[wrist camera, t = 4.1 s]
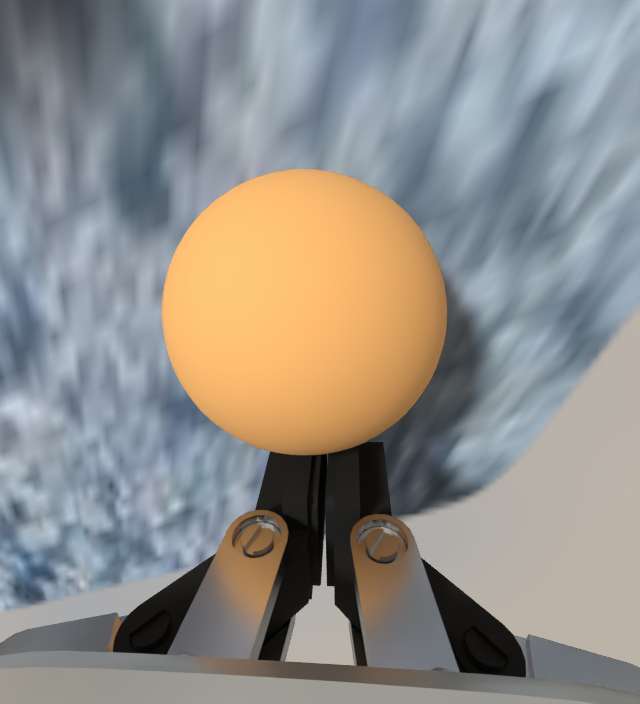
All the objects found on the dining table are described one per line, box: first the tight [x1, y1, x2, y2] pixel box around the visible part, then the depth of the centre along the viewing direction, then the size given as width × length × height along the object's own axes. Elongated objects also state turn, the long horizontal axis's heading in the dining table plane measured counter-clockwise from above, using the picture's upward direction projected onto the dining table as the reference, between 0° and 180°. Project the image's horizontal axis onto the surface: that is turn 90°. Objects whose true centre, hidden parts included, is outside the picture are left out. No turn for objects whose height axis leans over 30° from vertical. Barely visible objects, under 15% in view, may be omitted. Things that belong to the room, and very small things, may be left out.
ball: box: [162, 169, 447, 455], centre depth 9 cm, size 6×6×6 cm
